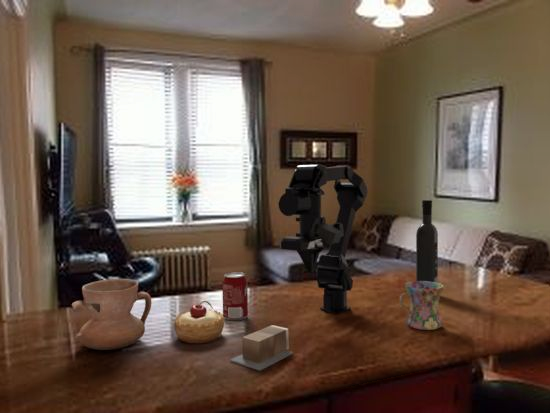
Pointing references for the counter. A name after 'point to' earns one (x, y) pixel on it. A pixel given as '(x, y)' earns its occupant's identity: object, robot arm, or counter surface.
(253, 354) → the block
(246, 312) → the soda can
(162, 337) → the counter surface
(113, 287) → the ceramic jug
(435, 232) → the wine bottle
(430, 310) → the mug
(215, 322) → the pastry
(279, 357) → the mat
